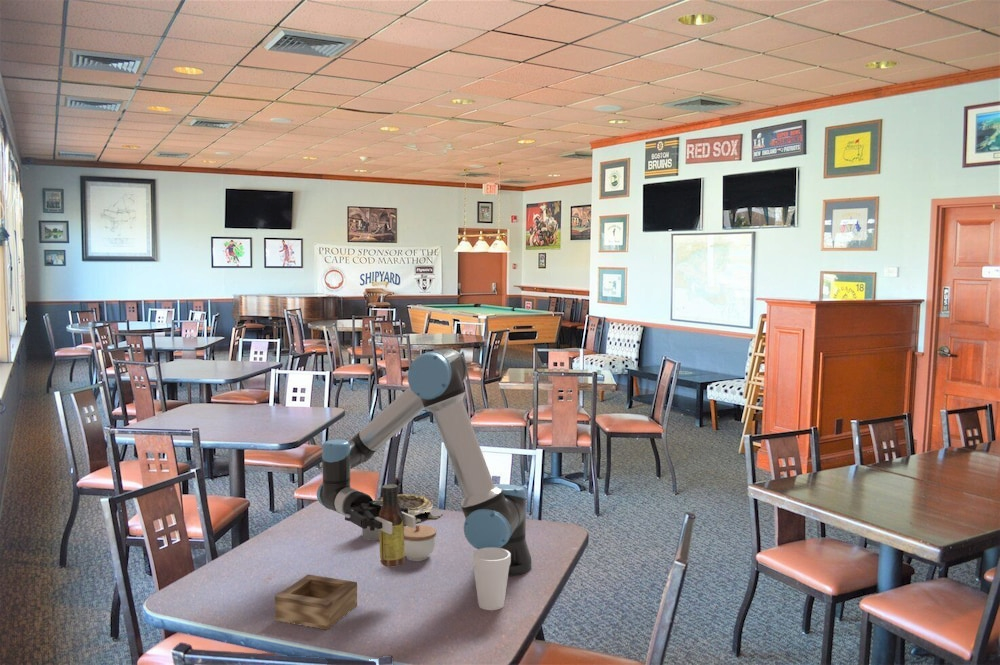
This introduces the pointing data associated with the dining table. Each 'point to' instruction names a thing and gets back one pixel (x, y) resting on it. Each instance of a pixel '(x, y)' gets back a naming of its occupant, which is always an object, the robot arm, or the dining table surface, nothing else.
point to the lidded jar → (419, 542)
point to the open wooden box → (316, 601)
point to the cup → (371, 534)
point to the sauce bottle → (392, 543)
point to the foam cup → (491, 576)
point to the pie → (415, 504)
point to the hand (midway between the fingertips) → (402, 525)
